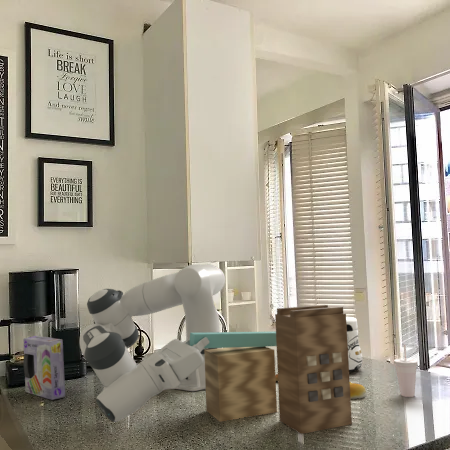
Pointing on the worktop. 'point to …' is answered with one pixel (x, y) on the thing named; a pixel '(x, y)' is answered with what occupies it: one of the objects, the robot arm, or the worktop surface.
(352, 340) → the milk container
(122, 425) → the worktop surface
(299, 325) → the button stand
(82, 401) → the worktop surface
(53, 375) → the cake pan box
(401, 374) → the smoothie
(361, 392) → the bread roll
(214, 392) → the oak block
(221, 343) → the long teal plank
